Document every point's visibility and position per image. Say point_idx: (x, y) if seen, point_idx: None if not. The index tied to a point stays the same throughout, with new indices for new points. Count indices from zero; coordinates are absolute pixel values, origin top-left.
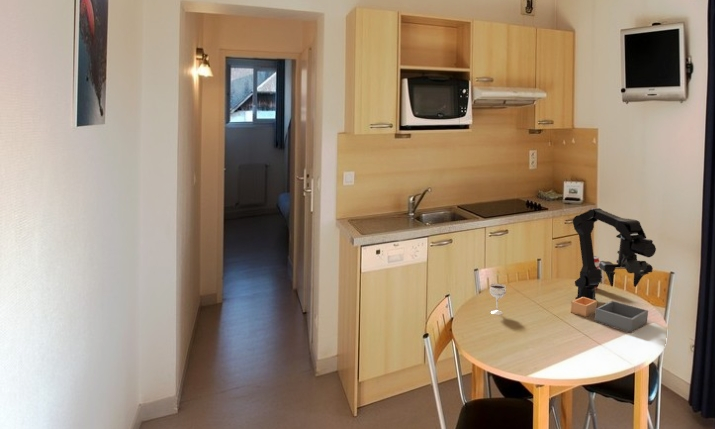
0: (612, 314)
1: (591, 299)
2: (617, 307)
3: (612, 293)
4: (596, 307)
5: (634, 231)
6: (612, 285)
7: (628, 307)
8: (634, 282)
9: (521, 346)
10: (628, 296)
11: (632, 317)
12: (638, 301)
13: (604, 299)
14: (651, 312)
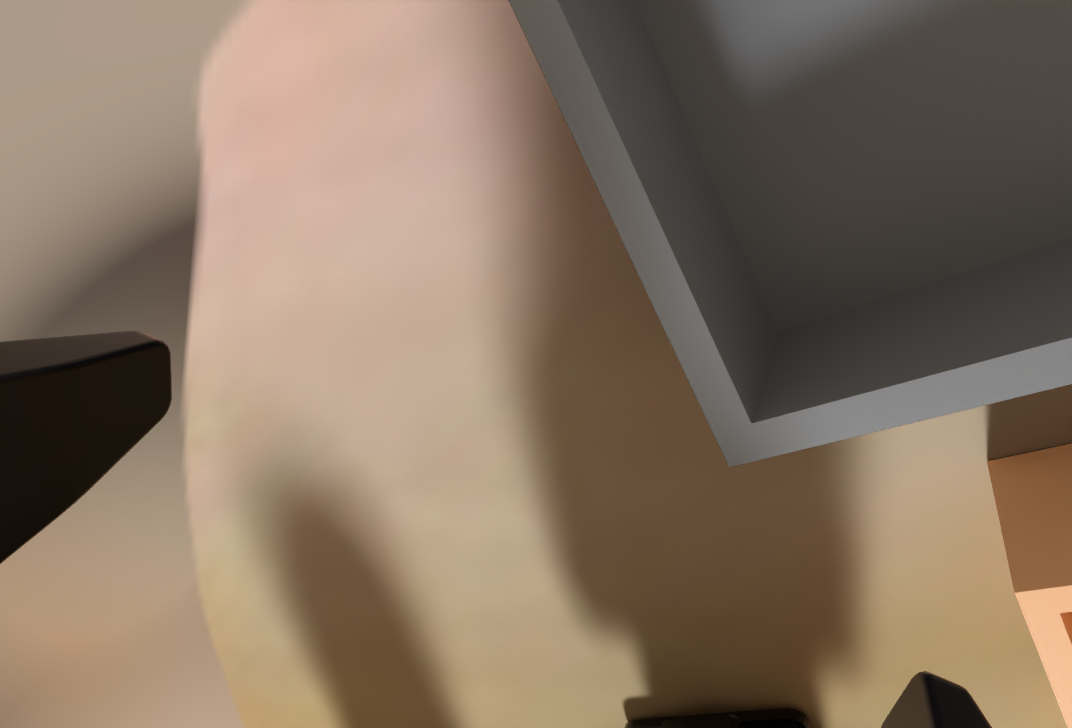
0: None
1: (1065, 684)
2: (731, 299)
3: (339, 723)
4: (1002, 506)
5: None
6: (956, 707)
7: (627, 122)
8: (52, 461)
9: None
10: (237, 612)
11: (638, 15)
12: (209, 491)
13: (518, 677)
14: (229, 199)
